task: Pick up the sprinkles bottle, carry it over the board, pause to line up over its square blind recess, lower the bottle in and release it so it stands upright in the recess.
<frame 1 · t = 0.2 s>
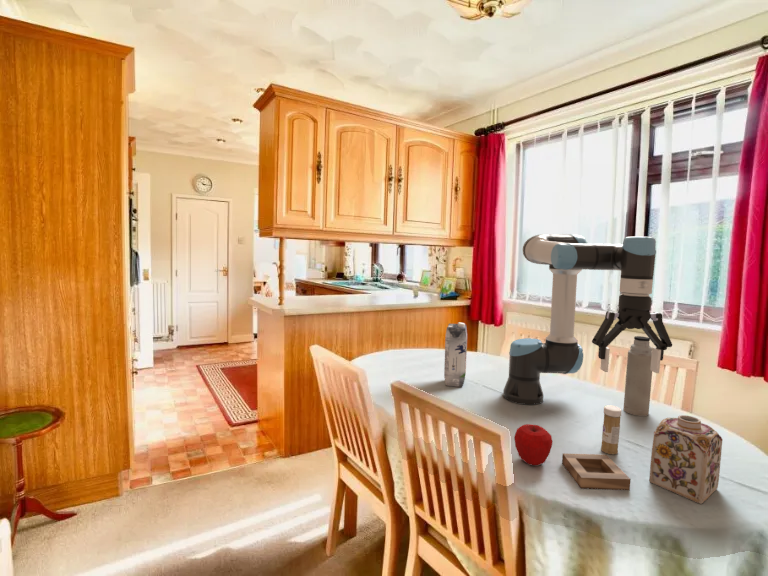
hand: (629, 371, 114), 26 cm above the table, fingers open, 13 cm apart
juice carton: (454, 383, 181), on the table
sprinkles bottle: (609, 451, 123), on the table
apple: (531, 463, 116), on the table
socket board: (593, 476, 109), on the table
decorative jar: (682, 486, 106), on the table
thermos bottle: (635, 412, 153), on the table
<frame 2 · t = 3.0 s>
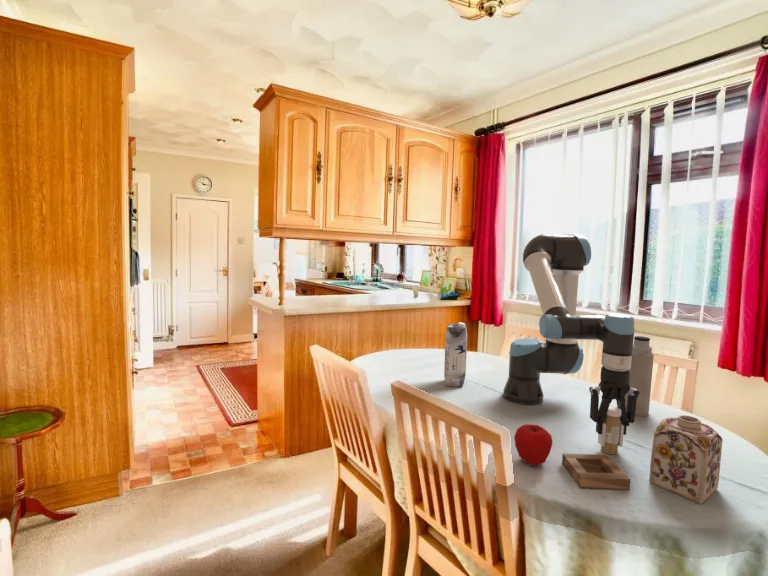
hand: (609, 444, 123), 2 cm above the table, fingers closed on sprinkles bottle, 4 cm apart
sprinkles bottle: (609, 451, 123), on the table, touching gripper
everything else where it was.
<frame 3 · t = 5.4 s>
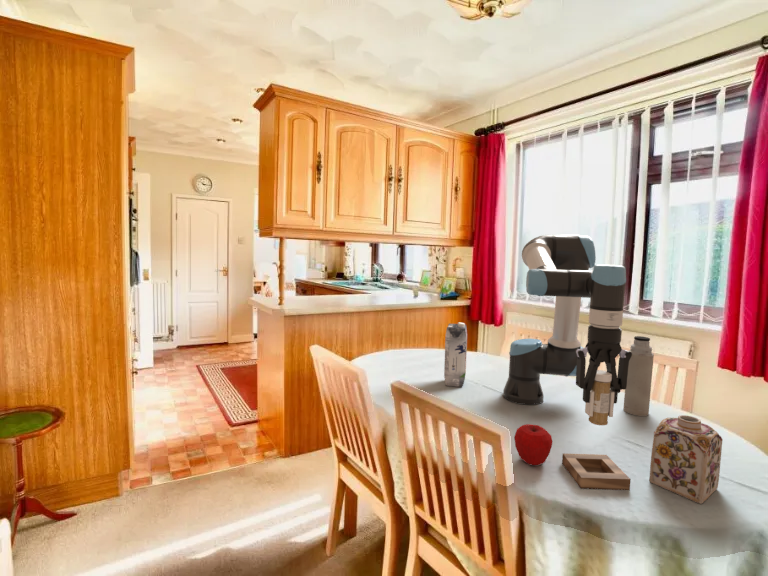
hand: (598, 414, 107), 17 cm above the table, fingers closed on sprinkles bottle, 4 cm apart
sprinkles bottle: (598, 423, 108), point 15 cm above the table, touching gripper
everything else where it was.
when the fingers open (4 cm above the table, at t = 8.2 s): sprinkles bottle drops 1 cm, resting on socket board.
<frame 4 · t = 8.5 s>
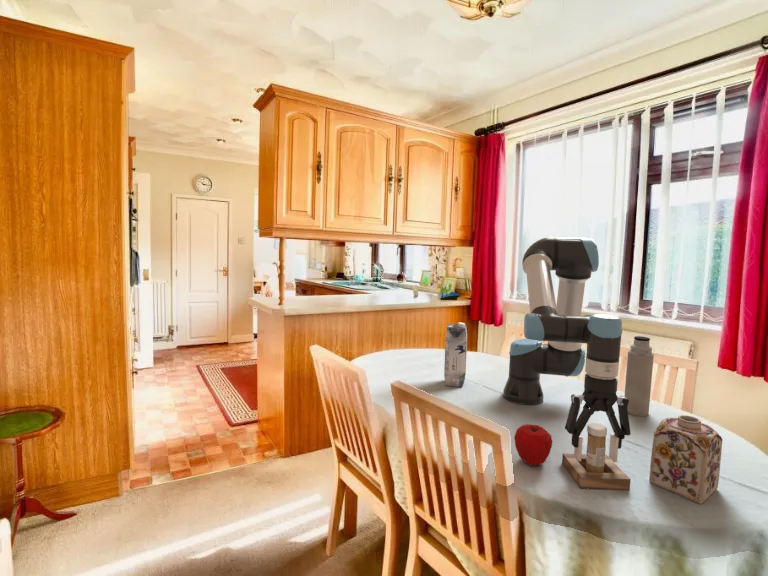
hand: (595, 458, 109), 5 cm above the table, fingers open, 8 cm apart
sprinkles bottle: (594, 475, 109), resting on socket board
everything else where it was.
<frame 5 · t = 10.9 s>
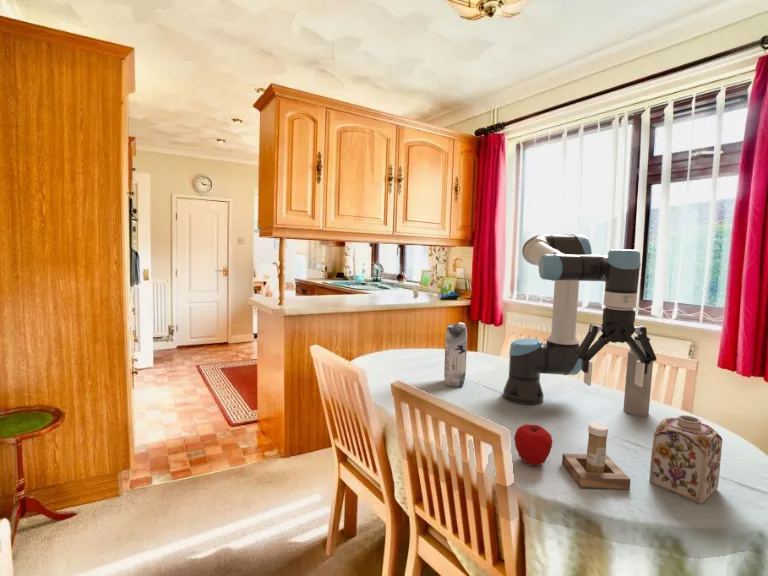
hand: (612, 384, 113), 23 cm above the table, fingers open, 13 cm apart
nothing on the table moved.
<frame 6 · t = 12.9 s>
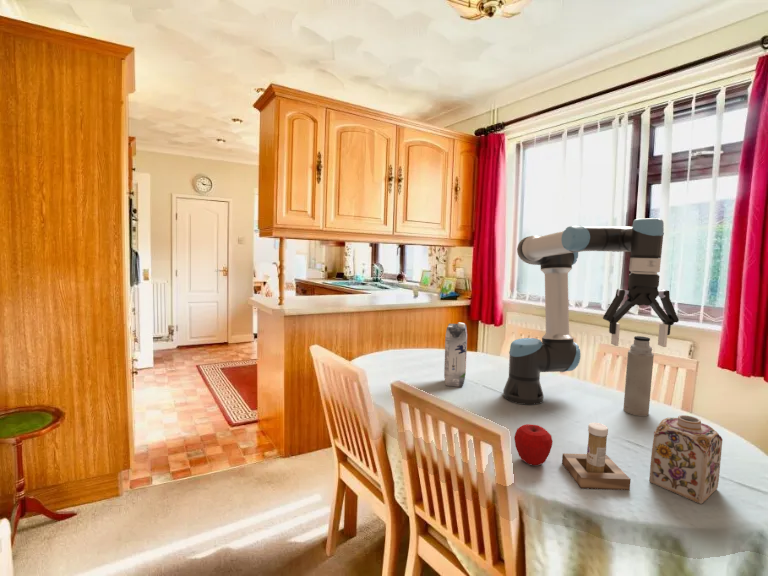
hand: (638, 345, 121), 32 cm above the table, fingers open, 13 cm apart
nothing on the table moved.
at the end: sprinkles bottle 0.2 cm off-centre on the socket board, point 0.3 cm above the socket board's base; sprinkles bottle tilted 0°; the gripper is holding nothing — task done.
